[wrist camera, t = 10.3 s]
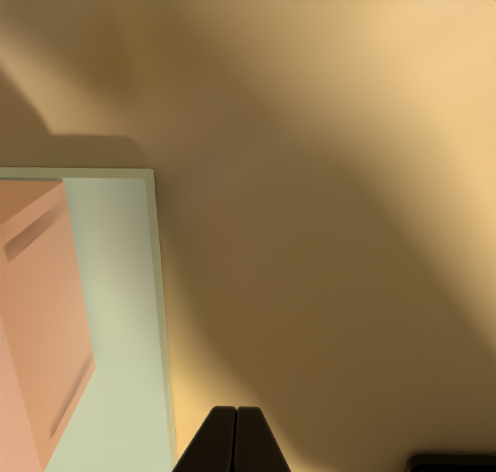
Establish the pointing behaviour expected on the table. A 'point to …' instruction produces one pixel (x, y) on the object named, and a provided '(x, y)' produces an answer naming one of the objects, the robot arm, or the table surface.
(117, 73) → the table surface
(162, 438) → the board
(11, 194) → the cover
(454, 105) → the table surface
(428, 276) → the table surface
